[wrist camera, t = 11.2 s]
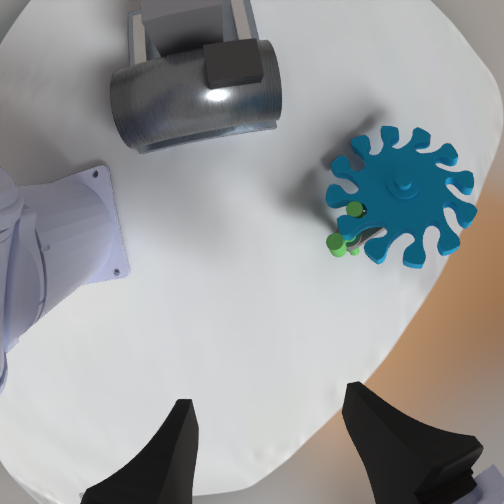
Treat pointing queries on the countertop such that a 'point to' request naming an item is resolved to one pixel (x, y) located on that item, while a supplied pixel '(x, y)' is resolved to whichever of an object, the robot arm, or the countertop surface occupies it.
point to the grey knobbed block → (182, 24)
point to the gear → (398, 198)
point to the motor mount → (197, 86)
